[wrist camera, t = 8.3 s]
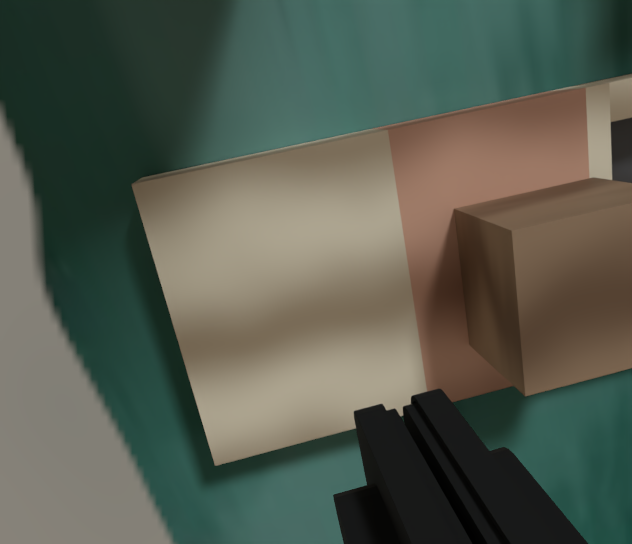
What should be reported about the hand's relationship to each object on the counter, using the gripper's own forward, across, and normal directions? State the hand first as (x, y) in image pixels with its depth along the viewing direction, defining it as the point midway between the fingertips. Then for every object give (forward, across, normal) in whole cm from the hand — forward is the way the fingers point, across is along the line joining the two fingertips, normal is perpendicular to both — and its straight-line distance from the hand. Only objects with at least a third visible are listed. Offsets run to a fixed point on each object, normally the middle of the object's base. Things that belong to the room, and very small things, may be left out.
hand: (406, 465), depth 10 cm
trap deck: (+14, -8, +1) cm, 16 cm away
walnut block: (+12, -9, +2) cm, 15 cm away
